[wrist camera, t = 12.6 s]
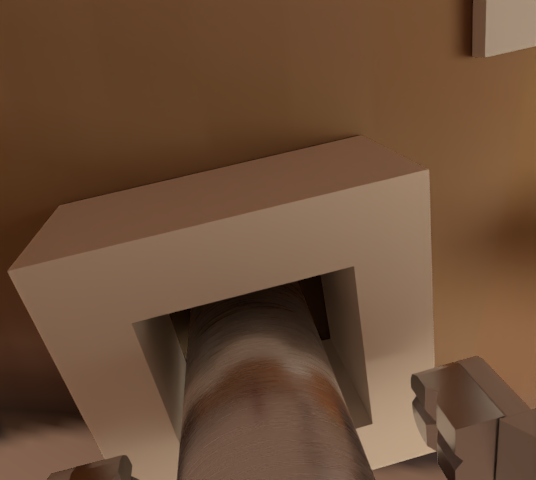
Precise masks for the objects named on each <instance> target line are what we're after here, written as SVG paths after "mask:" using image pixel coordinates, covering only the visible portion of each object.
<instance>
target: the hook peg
mask: <svg viewBox="0 0 536 480" xmlns="http://www.w3.org/2000/svg"><path fill="white" fill-rule="evenodd" d="M177 480H375V477H374V475H373V472H372V470H371V467H370V464H369V462H368V459H367V457H366V454H365V452H364V449H363V446H362V444H361V441H360V439H359V436H358V434H357V431H356V429H355V426H354V423H353V421H352V418H351V416H350V413H349V411H348V408H347V406H346V403H345V400H344V398H343V395H342V393H341V390H340V388H339V385H338V383H337V380H336V377H335V375H334V372H333V370H332V367H331V365H330V362H329V359H328V357H327V354H326V352H325V349H324V347H323V344H322V342H321V339H320V336H319V334H318V331H317V329H316V326H315V324H314V321H313V319H312V316H311V313H310V311H309V308H308V306H307V303H306V301H305V298H304V296H303V293H302V290H301V288H300V285H299V283H298V281H294V282H290V283H286V284H282V285H278V286H275V287H271V288H267V289H263V290H259V291H255V292H251V293H247V294H243V295H239V296H235V297H232V298H228V299H224V300H220V301H216V302H212V303H208V304H204V305H200V306H196V307H192V308H191V314H190V326H189V338H188V350H187V362H186V374H185V386H184V398H183V410H182V422H181V434H180V446H179V458H178V470H177Z"/></svg>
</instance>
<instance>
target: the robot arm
mask: <svg viewBox="0 0 536 480" xmlns="http://www.w3.org/2000/svg"><path fill="white" fill-rule="evenodd" d="M411 388H412V390H413V391H414V393H415V394H416V397H415V398H414V400H413V401H412V409H413V415H414V419H415V422H416V426H417V428H418V430H419V432H420V434H421V436H422V438H423V440H424V442H425V443H426V445H427V446H428V447H430V448H432V449H433V450H435V451H437V453H438V465H439V467H440V468H441V470H442V472H443V473H444V475H445V476H446V478H447V480H536V408H535V409H530V407H529V406H528V405H527V404H526V403H525V402H524V401H523V400H522V399H521V398H520V397H519V396H518V395H517V394H516V393H515V392H514V391H513V390H512V389H511V388H510V387H509V386H508V385H507V384H506V383H505V382H504V380H503V379H502V378H501V377H500V376H499V375H498V374H497V373H496V372H495V371H494V370H493V369H492V368H491V367H490V366H489V365H488V364H487V363H486V362H485V361H484V360H483V359H482V358H481V357H479V356H474V357H470V358H467V359H463V360H459V361H456V362H452V363H449V364H445V365H442V366H438V367H435V368H431V369H428V370H424V371H421V372H418V373H414V374H412V376H411ZM131 473H132V464H131V462H130V460H129V458H128V456H127V455H121V456H117V457H113V458H109V459H105V460H101V461H97V462H93V463H89V464H85V465H81V466H77V467H75V468H71V469H67V470H63V471H59V472H55V473H52V474H51V475H50V476H49V477H48V478H47V480H139V479H137V478H135V477H133V476H131Z"/></svg>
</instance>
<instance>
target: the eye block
mask: <svg viewBox="0 0 536 480" xmlns="http://www.w3.org/2000/svg"><path fill="white" fill-rule="evenodd" d="M7 272H8V274H9V276H10V278H11V280H12V282H13V284H14V286H15V288H16V290H17V292H18V293H19V295H20V297H21V299H22V301H23V303H24V305H25V307H26V309H27V311H28V313H29V315H30V317H31V319H32V320H33V322H34V324H35V326H36V328H37V330H38V332H39V334H40V336H41V338H42V340H43V342H44V344H45V345H46V347H47V349H48V351H49V353H50V355H51V357H52V359H53V361H54V363H55V365H56V367H57V369H58V371H59V372H60V374H61V376H62V378H63V380H64V382H65V384H66V386H67V388H68V390H69V392H70V394H71V396H72V397H73V399H74V401H75V403H76V405H77V407H78V409H79V411H80V413H81V415H82V417H83V419H84V421H85V423H86V424H87V426H88V428H89V430H90V432H91V434H92V436H93V438H94V440H95V442H96V444H97V446H98V447H99V449H100V451H101V453H102V455H103V457H104V459H109V458H113V457H117V456H121V455H127V456H128V458H129V460H130V462H131V464H132V473H131V476H133V477H135V478H137V479H139V480H177V470H178V458H179V446H180V434H181V422H182V410H183V398H184V386H185V374H186V361H185V358H184V355H183V352H182V349H181V346H180V343H179V341H178V338H177V335H176V332H175V329H174V326H173V323H172V321H171V318H170V315H169V313H173V312H177V311H181V310H185V309H189V308H192V307H196V306H200V305H204V304H208V303H212V302H216V301H220V300H224V299H228V298H232V297H235V296H239V295H243V294H247V293H251V292H255V291H259V290H263V289H267V288H271V287H275V286H278V285H282V284H286V283H290V282H294V281H298V280H302V279H306V278H310V277H314V276H318V275H321V281H322V288H323V294H324V300H325V307H326V313H327V319H328V326H329V332H330V339H326V340H323V341H321V342H322V344H323V347H324V349H325V352H326V354H327V357H328V359H329V362H330V365H331V367H332V370H333V372H334V375H335V377H336V380H337V383H338V385H339V388H340V390H341V393H342V395H343V398H344V400H345V403H346V406H347V408H348V411H349V413H350V416H351V418H352V421H353V423H354V426H355V429H356V431H357V434H358V436H359V439H360V441H361V444H362V446H363V449H364V452H365V454H366V457H367V459H368V462H369V464H370V467H371V470H374V469H377V468H381V467H384V466H387V465H391V464H394V463H398V462H401V461H404V460H408V459H411V458H415V457H418V456H422V455H425V454H428V453H432V452H435V450H433V449H432V448H430V447H428V446H427V445H426V443H425V442H424V440H423V438H422V436H421V434H420V432H419V430H418V428H417V426H416V422H415V419H414V415H413V409H412V401H413V400H414V398H415V397H416V394H415V393H414V391H413V390H412V388H411V376H412V374H414V373H418V372H421V371H424V370H428V369H431V368H435V360H434V324H433V288H432V253H431V217H430V181H429V169H428V168H426V167H424V166H422V165H420V164H418V163H416V162H414V161H412V160H410V159H408V158H406V157H404V156H402V155H400V154H398V153H397V152H395V151H393V150H391V149H389V148H387V147H385V146H383V145H381V144H379V143H377V142H375V141H373V140H371V139H369V138H367V137H365V136H363V135H359V136H355V137H351V138H346V139H342V140H338V141H333V142H329V143H325V144H321V145H316V146H312V147H308V148H303V149H299V150H295V151H290V152H286V153H282V154H278V155H273V156H269V157H265V158H260V159H256V160H252V161H247V162H243V163H239V164H235V165H230V166H226V167H222V168H217V169H213V170H209V171H205V172H200V173H196V174H192V175H187V176H183V177H179V178H174V179H170V180H166V181H162V182H157V183H153V184H149V185H144V186H140V187H136V188H131V189H127V190H123V191H119V192H114V193H110V194H106V195H101V196H97V197H93V198H88V199H84V200H80V201H76V202H71V203H67V204H63V205H59V206H58V208H57V209H56V210H55V211H54V213H53V214H52V215H51V216H50V218H49V219H48V220H47V221H46V223H45V224H44V225H43V226H42V228H41V229H40V230H39V231H38V233H37V234H36V235H35V236H34V238H33V239H32V240H31V242H30V243H29V244H28V245H27V247H26V248H25V249H24V250H23V252H22V253H21V254H20V255H19V257H18V258H17V259H16V260H15V262H14V263H13V264H12V265H11V267H10V268H9V269H8V270H7Z"/></svg>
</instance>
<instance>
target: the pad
mask: <svg viewBox="0 0 536 480" xmlns="http://www.w3.org/2000/svg"><path fill="white" fill-rule="evenodd" d="M534 46H536V0H473V36H472V57H489V56H494V55H498V54H503V53H507V52H512V51H516V50H521V49H525V48H530V47H534Z"/></svg>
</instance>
